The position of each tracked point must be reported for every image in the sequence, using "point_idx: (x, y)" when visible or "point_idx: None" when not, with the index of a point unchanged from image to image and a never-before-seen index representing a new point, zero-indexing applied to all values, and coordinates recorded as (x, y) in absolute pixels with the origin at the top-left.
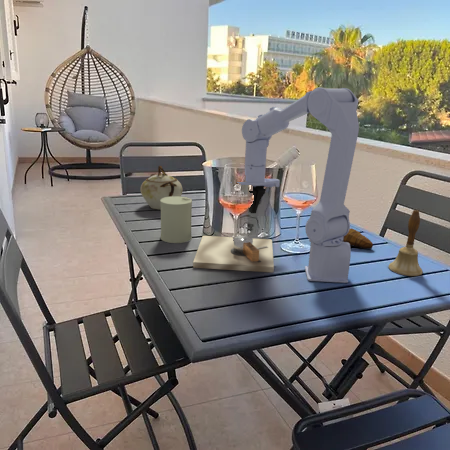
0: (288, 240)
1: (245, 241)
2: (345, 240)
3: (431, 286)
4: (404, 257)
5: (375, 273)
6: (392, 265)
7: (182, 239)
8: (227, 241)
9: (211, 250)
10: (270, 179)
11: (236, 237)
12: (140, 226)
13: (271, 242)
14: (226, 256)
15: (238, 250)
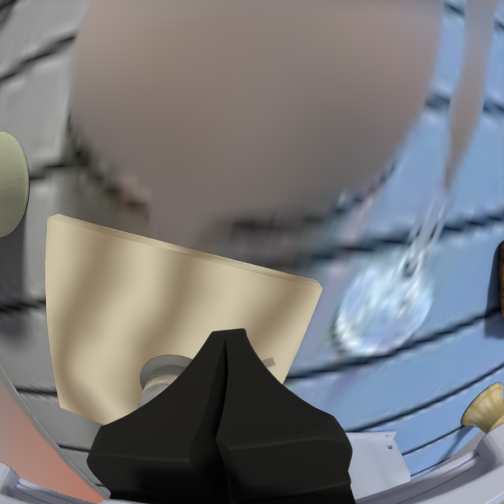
0: (395, 242)
1: None
2: (502, 315)
3: (459, 443)
4: (483, 430)
5: (436, 427)
6: (473, 412)
7: (3, 235)
8: (130, 293)
9: (84, 359)
10: (492, 494)
11: (146, 402)
12: None
13: (307, 320)
14: (129, 403)
15: None
